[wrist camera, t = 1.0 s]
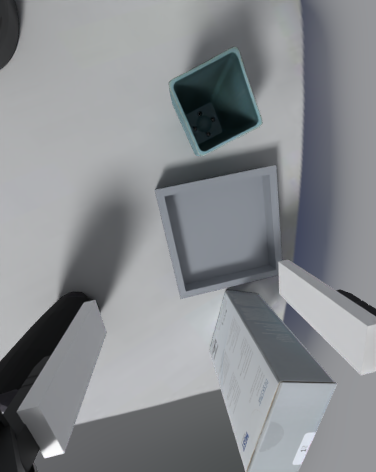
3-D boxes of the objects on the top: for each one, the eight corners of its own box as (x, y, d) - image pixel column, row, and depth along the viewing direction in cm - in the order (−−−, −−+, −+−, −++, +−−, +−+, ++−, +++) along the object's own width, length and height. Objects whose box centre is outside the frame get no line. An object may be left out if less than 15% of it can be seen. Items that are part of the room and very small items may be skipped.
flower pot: (165, 108, 31) (166, 81, 22) (216, 81, 31) (237, 43, 22) (190, 163, 33) (200, 157, 25) (237, 138, 33) (264, 124, 25)
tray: (155, 189, 34) (154, 190, 30) (265, 166, 35) (276, 165, 32) (179, 288, 39) (180, 298, 36) (273, 266, 40) (282, 274, 37)
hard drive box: (240, 352, 46) (297, 476, 27) (208, 350, 44) (243, 479, 25) (259, 292, 42) (340, 386, 23) (224, 288, 41) (279, 384, 22)
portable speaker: (42, 313, 37) (-79, 447, 19) (75, 279, 36) (-18, 384, 18) (81, 337, 40) (8, 478, 21) (113, 306, 39) (66, 424, 20)
